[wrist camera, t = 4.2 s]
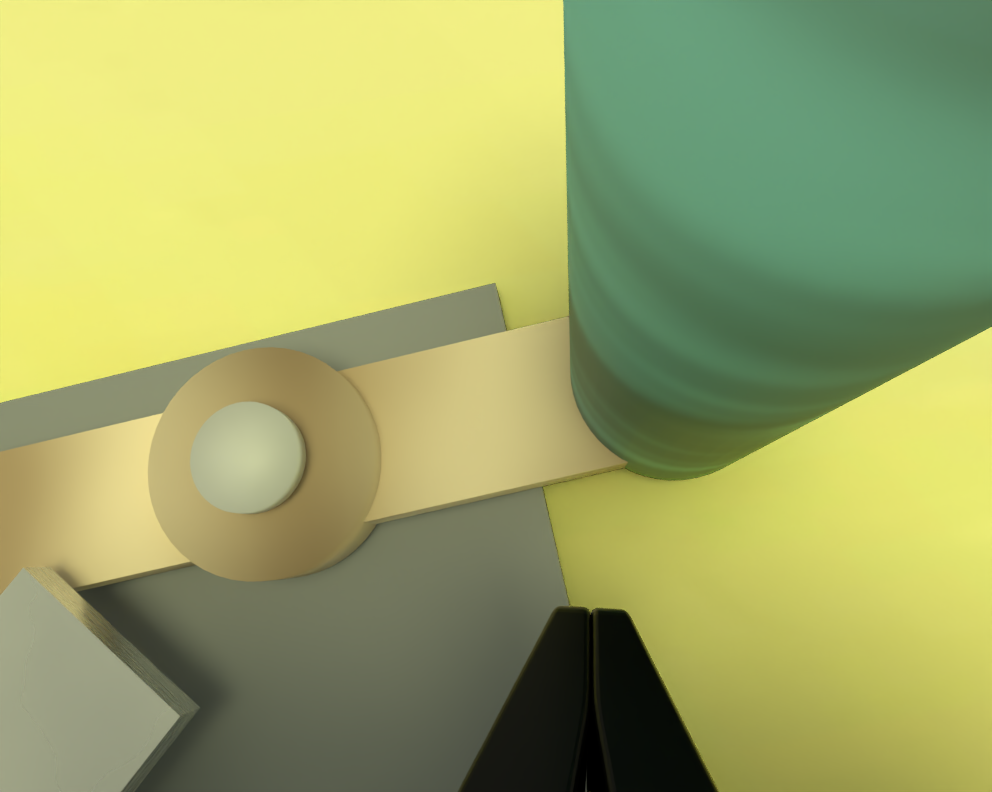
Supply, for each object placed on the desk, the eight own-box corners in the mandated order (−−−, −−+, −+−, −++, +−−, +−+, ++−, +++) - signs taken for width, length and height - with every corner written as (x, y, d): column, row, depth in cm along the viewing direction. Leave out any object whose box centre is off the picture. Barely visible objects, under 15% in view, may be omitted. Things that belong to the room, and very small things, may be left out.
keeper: (103, 564, 16) (23, 567, 14) (240, 689, 15) (179, 716, 13) (-101, 815, 15) (-223, 864, 13) (31, 959, 15) (-73, 1038, 12)
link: (-89, 664, 16) (-2953, 1172, 3) (-99, 457, 17) (-2304, 163, 4) (801, 464, 15) (2310, -77, 2) (738, 257, 16) (1471, -1034, 3)
